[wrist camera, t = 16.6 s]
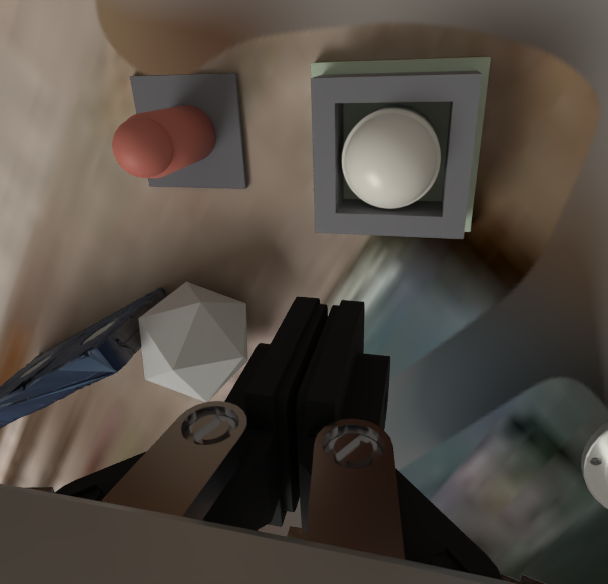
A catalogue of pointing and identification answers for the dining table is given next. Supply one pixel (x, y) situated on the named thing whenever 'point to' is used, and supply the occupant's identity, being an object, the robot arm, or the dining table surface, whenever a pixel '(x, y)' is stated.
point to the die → (194, 341)
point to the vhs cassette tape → (76, 361)
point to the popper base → (423, 97)
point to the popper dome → (392, 156)
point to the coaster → (222, 112)
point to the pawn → (163, 141)
